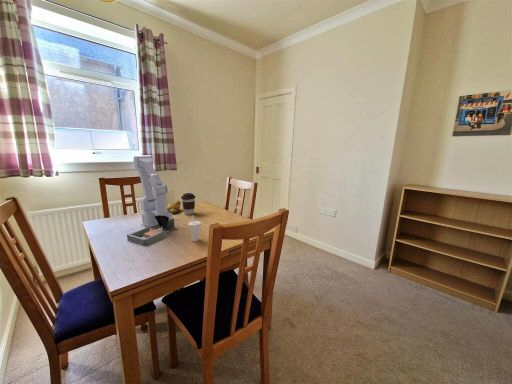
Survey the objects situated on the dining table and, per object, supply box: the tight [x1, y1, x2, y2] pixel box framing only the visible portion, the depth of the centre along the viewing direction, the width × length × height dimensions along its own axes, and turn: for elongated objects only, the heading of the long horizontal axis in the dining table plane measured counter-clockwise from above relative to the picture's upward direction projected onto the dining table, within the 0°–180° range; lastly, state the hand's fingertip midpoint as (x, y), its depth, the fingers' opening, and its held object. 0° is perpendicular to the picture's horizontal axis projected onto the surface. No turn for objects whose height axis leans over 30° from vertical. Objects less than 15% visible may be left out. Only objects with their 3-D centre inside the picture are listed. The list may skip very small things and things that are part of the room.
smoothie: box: [187, 214, 201, 242], centre depth 115 cm, size 6×6×14 cm
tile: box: [143, 229, 162, 238], centre depth 121 cm, size 7×7×2 cm
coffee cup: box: [180, 192, 196, 216], centre depth 159 cm, size 10×10×15 cm
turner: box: [154, 217, 176, 234], centre depth 129 cm, size 11×8×6 cm
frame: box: [126, 226, 167, 246], centre depth 117 cm, size 14×13×3 cm
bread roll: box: [167, 200, 182, 214], centre depth 163 cm, size 13×10×8 cm
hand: (163, 227), depth 127 cm, fingers closed on turner, 2 cm apart
